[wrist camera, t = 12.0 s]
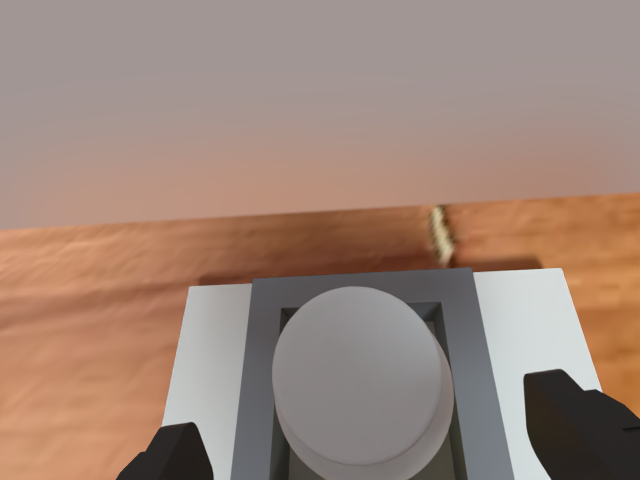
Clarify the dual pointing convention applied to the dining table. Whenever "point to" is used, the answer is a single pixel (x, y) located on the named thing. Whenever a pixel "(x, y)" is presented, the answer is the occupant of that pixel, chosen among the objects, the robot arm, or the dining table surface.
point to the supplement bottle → (361, 386)
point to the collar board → (441, 319)
